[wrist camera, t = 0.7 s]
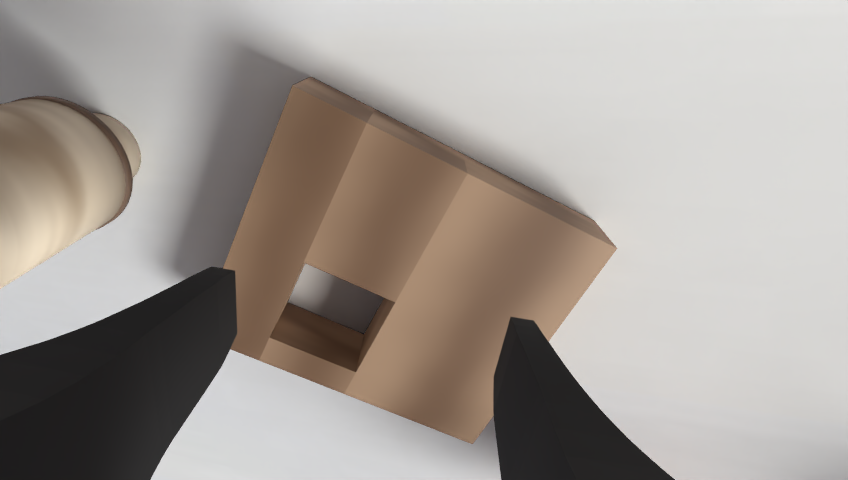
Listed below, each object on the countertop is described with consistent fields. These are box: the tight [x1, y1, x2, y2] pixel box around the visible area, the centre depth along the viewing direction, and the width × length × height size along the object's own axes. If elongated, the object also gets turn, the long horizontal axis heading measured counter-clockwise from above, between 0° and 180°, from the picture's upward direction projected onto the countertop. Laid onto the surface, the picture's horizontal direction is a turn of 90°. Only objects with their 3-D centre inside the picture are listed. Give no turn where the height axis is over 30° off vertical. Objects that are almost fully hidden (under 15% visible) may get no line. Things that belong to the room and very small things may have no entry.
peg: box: [0, 96, 141, 289], centre depth 18 cm, size 5×5×8 cm
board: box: [223, 77, 617, 444], centre depth 22 cm, size 14×12×3 cm
